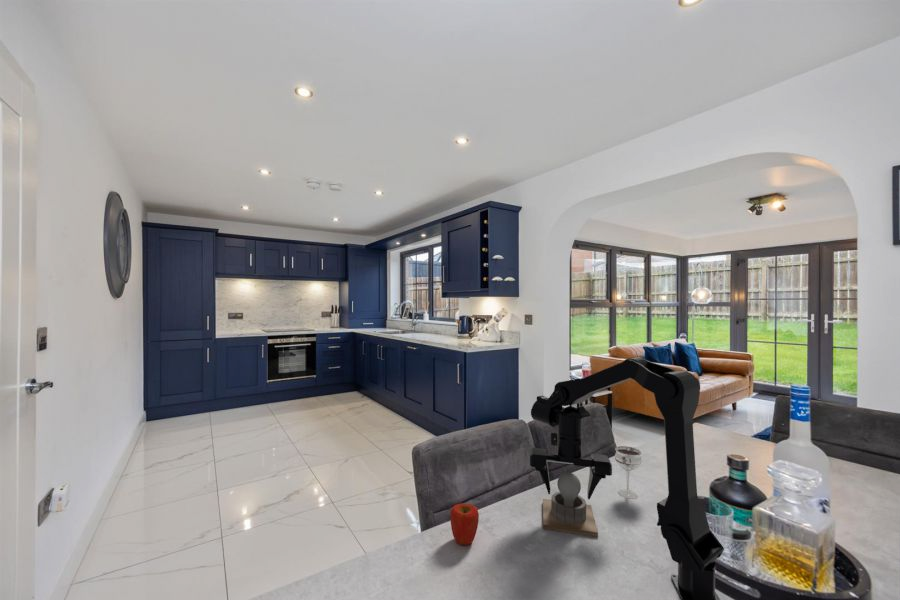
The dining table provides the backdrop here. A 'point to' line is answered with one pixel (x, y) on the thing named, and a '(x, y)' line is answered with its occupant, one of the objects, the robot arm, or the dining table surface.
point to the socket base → (569, 516)
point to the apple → (464, 523)
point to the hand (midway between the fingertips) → (568, 496)
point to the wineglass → (628, 465)
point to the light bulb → (569, 488)
